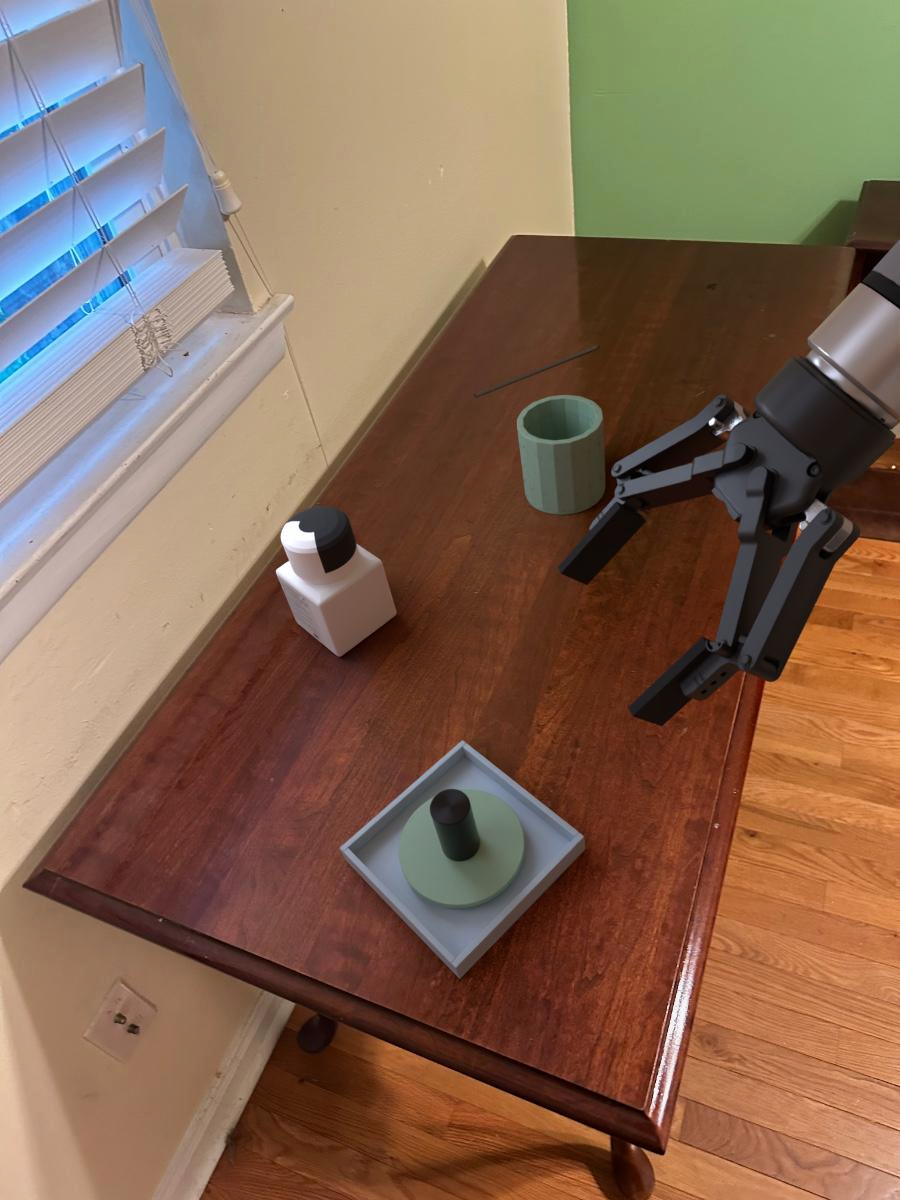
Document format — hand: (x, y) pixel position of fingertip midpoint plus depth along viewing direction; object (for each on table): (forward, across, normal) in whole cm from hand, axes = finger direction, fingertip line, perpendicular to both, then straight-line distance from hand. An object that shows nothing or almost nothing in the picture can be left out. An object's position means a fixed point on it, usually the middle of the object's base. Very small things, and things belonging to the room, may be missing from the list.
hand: (605, 641), depth 58 cm
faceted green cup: (+6, +38, -18) cm, 42 cm away
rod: (+2, +63, -22) cm, 67 cm away
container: (+25, +27, +1) cm, 37 cm away
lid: (+21, -3, -2) cm, 21 cm away
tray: (+21, -3, -3) cm, 22 cm away
